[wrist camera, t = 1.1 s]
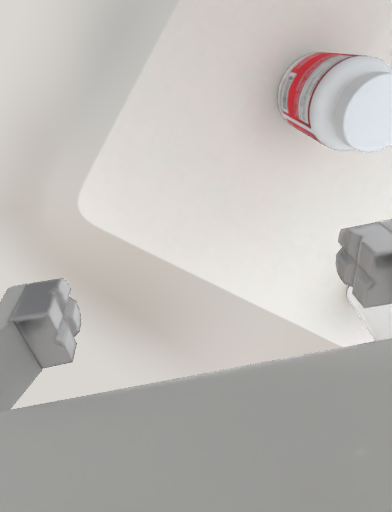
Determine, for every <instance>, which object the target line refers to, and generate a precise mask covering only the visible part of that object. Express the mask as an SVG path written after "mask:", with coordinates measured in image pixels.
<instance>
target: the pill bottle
mask: <svg viewBox="0 0 392 512" xmlns="http://www.w3.org/2000/svg"><path fill="white" fill-rule="evenodd" d="M278 105H279V109H280V112H281V114H282V116H283V118H284V119H285V120H286V121H287V122H288V123H289V124H290V125H292V126H293V127H295V128H296V129H298V130H300V131H302V132H303V133H305V134H307V135H308V136H310V137H312V138H313V139H315V140H317V141H318V142H320V143H322V144H323V145H325V146H327V147H329V148H331V149H334V150H340V151H349V150H354V149H356V150H358V151H361V152H375V151H379V150H382V149H384V148H386V147H388V146H390V145H391V144H392V68H391V67H390V66H389V65H388V64H387V63H386V62H384V61H382V60H381V59H378V58H375V57H371V56H363V55H349V54H337V53H322V52H319V53H311V54H308V55H305V56H303V57H301V58H300V59H298V60H297V61H295V62H294V63H293V64H292V65H291V66H290V67H289V68H288V70H287V71H286V73H285V74H284V76H283V78H282V80H281V83H280V86H279V90H278Z"/></svg>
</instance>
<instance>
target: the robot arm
mask: <svg viewBox="0 0 392 512" xmlns="http://www.w3.org/2000/svg"><path fill="white" fill-rule="evenodd" d="M338 242H339V243H340V245H341V246H342V248H341V249H340V250H339V252H338V253H337V254H336V267H337V272H338V274H339V277H340V278H341V280H342V281H343V282H344V284H346V285H349V286H351V287H353V290H352V294H353V295H354V296H355V298H356V299H357V300H358V301H359V303H360V304H361V305H362V306H363V308H369V307H376V306H382V305H388V304H392V219H388V220H384V221H379V222H375V223H371V224H365V225H360V226H355V227H350V228H345V229H341V231H340V233H339V239H338ZM70 291H71V288H70V286H69V284H68V282H67V280H65V279H64V278H60V279H54V280H48V281H41V282H35V283H30V284H22V285H17V286H12V287H10V288H8V289H7V291H6V293H5V294H4V296H3V298H2V300H1V302H0V512H392V338H390V339H385V340H380V341H374V342H369V343H364V344H358V345H353V346H347V347H342V348H337V349H332V350H326V351H321V352H315V353H310V354H304V355H299V356H294V357H289V358H283V359H278V360H272V361H267V362H262V363H257V364H252V365H246V366H241V367H235V368H230V369H225V370H219V371H215V372H209V373H204V374H198V375H193V376H188V377H183V378H177V379H172V380H167V381H161V382H156V383H151V384H145V385H140V386H135V387H129V388H124V389H119V390H114V391H108V392H103V393H98V394H93V395H87V396H81V397H76V398H71V399H66V400H60V401H55V402H49V403H44V404H39V405H33V406H29V407H23V408H17V409H12V410H10V409H11V408H12V406H13V405H14V404H15V403H16V402H17V400H18V399H19V398H20V397H21V396H22V394H23V393H24V392H25V391H26V389H27V388H28V387H29V386H30V385H31V383H32V382H33V381H34V380H35V378H36V377H37V376H38V374H39V373H40V372H41V371H42V369H43V368H47V367H52V366H57V365H61V364H66V363H71V362H73V358H74V354H75V349H76V345H77V343H76V341H75V339H74V337H75V336H76V335H77V334H78V333H79V332H80V327H81V314H80V310H79V307H78V304H77V302H76V301H75V300H74V299H72V298H71V297H69V294H70Z"/></svg>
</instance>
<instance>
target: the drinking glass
mask: <svg viewBox="0 0 392 512" xmlns="http://www.w3.org/2000/svg"><path fill="white" fill-rule="evenodd" d="M352 290H353V287H351V286H349V288H348V291H347V298H348V300H349V302H350V303H351V305H352V306H353V307H354V309H355V310H356V312H357V313H358V315H359V316H360V318H361V320H362V321H363V323H364V324H365V326H366V328H367V329H368V331H369V333H370V334H371V336H372V338H373V339H374V341H380V340H385V339H390V338H392V304H388V305H382V306H376V307H369V308H363V306H362V305H361V304H360V303H359V301H358V300H357V299H356V298H355V296H354V295H353V294H352Z"/></svg>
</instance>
